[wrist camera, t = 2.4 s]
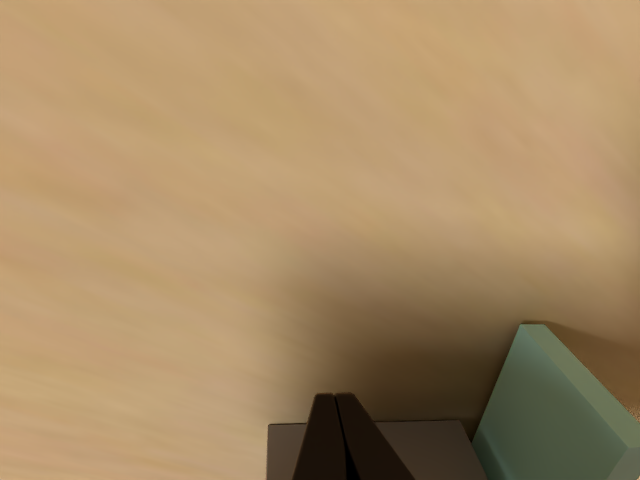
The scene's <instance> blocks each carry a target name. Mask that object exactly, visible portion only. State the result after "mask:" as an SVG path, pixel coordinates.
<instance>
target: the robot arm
mask: <svg viewBox="0 0 640 480" xmlns="http://www.w3.org/2000/svg"><path fill="white" fill-rule="evenodd" d="M291 480H416V479H415V478H414V476H413V475H412V474H411V472H410V471H409V470H408V468H407V467H406V465H405V464H404V463H403V461H402V460H401V459H400V457H399V456H398V454H397V453H396V452H395V450H394V449H393V448H392V446H391V445H390V443H389V442H388V441H387V439H386V438H385V437H384V435H383V434H382V432H381V431H380V430H379V428H378V427H377V425H376V424H375V423H374V421H373V420H372V419H371V417H370V416H369V414H368V413H367V412H366V410H365V409H364V408H363V406H362V405H361V403H360V402H359V401H358V399H357V398H356V397H355V395H354V394H352V393H349V392H348V393H335V394H334V395H333V394H332V393H317V394H316V395H315V397H314V400H313V404H312V407H311V411H310V414H309V418H308V421H307V425H306V429H305V432H304V436H303V439H302V443H301V446H300V450H299V453H298V457H297V461H296V464H295V468H294V471H293V475H292V478H291Z"/></svg>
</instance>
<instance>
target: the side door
mask: <svg viewBox="0 0 640 480" xmlns="http://www.w3.org/2000/svg"><path fill="white" fill-rule="evenodd" d="M471 445H472V447H473V449H474V451H475V453H476V455H477V457H478V459H479V461H480V463H481V465H482V467H483V469H484V471H485V474H486V476H487V478H488V480H637V478H638V477H639V476H640V423H639V422H638V421H637V420H636V419H635V418H634V417H633V416H632V415H631V414H630V413H629V412H628V411H627V410H626V409H625V407H624V406H623V405H622V404H621V403H620V402H619V401H618V400H617V399H616V398H615V397H614V396H613V395H612V394H611V393H610V392H609V391H608V390H607V389H606V388H605V387H604V386H603V385H602V384H601V383H600V382H599V381H598V379H597V378H596V377H595V376H594V375H593V374H592V373H591V372H590V371H589V370H588V369H587V368H586V367H585V366H584V365H583V364H582V363H581V362H580V361H579V360H578V359H577V358H576V357H575V356H574V355H573V354H572V352H571V351H570V350H569V349H568V348H567V347H566V346H565V345H564V344H563V343H562V342H561V341H560V340H559V339H558V338H557V337H556V336H555V335H554V334H553V333H552V332H551V331H550V330H549V329H548V328H547V327H546V325H545V324H520V326H519V329H518V331H517V334H516V336H515V338H514V341H513V343H512V346H511V348H510V351H509V353H508V355H507V358H506V360H505V363H504V365H503V368H502V370H501V373H500V375H499V377H498V380H497V382H496V385H495V387H494V390H493V392H492V395H491V397H490V399H489V402H488V404H487V407H486V409H485V412H484V414H483V416H482V419H481V421H480V424H479V426H478V429H477V431H476V434H475V436H474V438H473V441H472V443H471Z"/></svg>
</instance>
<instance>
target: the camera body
mask: <svg viewBox="0 0 640 480" xmlns="http://www.w3.org/2000/svg"><path fill="white" fill-rule="evenodd" d="M374 423H375V424H376V425H377V427H378V428H379V430H380V431H381V432H382V434H383V435H384V437H385V438H386V439H387V441H388V442H389V443H390V445H391V446H392V448H393V449H394V450H395V452H396V453H397V454H398V456H399V457H400V459H401V460H402V461H403V463H404V464H405V465H406V467H407V468H408V470H409V471H410V472H411V474H412V475H413V476H414V478H415V479H416V480H488V478H487V476H486V474H485V471H484V469H483V467H482V465H481V463H480V461H479V459H478V457H477V455H476V453H475V451H474V449H473V447H472V445H471V443H470V441H469V439H468V437H467V435H466V432H465V430H464V428H463V426H462V424H461V422H460V420H449V421H410V422H374ZM306 425H307V424H293V425H268V440H267V464H266V480H291V478H292V475H293V471H294V468H295V464H296V461H297V457H298V453H299V450H300V446H301V443H302V439H303V436H304V432H305V429H306Z"/></svg>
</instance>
